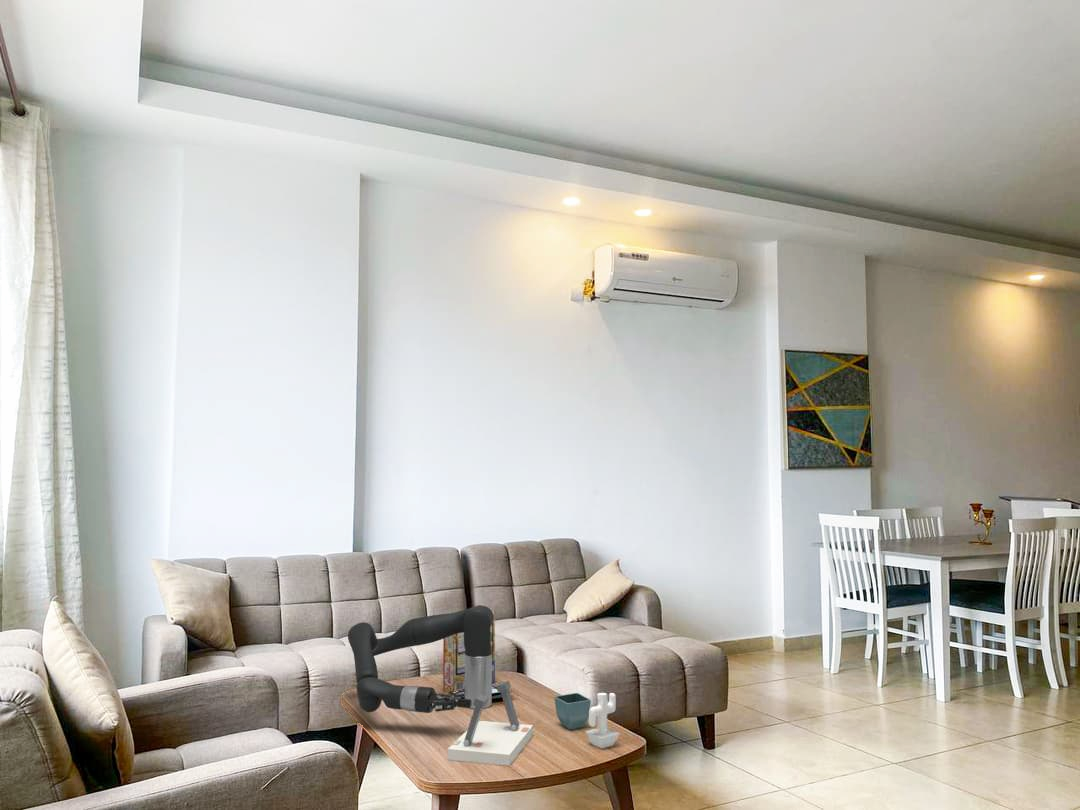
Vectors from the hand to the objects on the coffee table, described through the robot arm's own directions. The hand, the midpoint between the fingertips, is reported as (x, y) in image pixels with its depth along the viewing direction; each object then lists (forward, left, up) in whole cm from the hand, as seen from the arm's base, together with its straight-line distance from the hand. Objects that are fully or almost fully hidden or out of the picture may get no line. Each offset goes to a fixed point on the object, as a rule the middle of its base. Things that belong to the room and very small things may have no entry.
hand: (470, 703), depth 253 cm
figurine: (-2, +40, -10) cm, 42 cm away
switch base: (+8, +9, -9) cm, 16 cm away
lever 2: (0, +14, -6) cm, 16 cm away
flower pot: (-16, +28, -10) cm, 34 cm away
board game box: (-50, -18, -10) cm, 54 cm away
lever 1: (+16, +4, -6) cm, 18 cm away
